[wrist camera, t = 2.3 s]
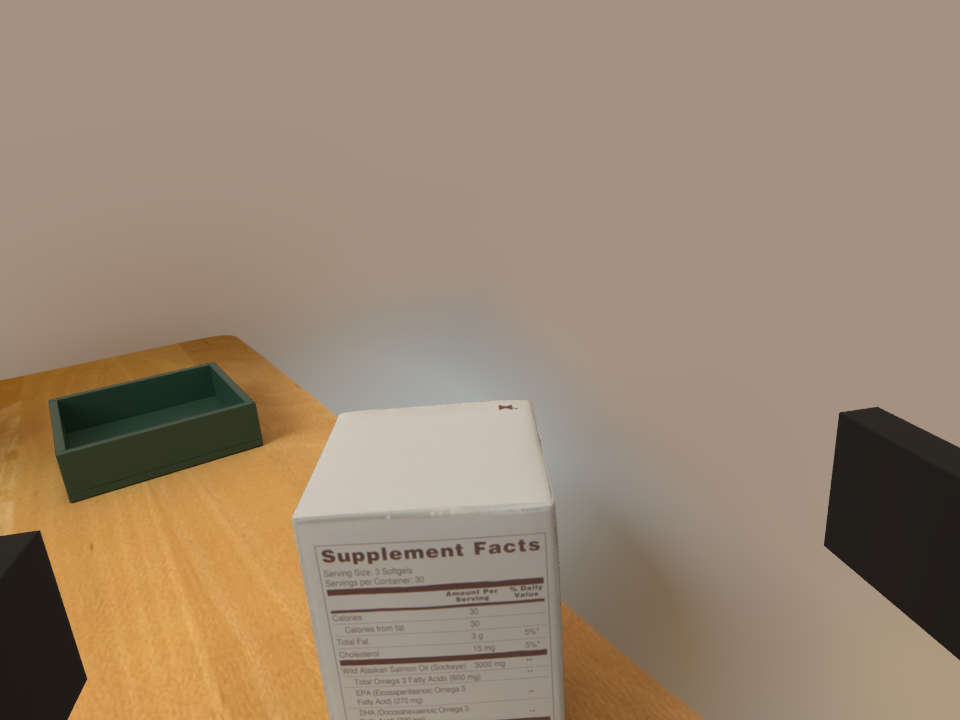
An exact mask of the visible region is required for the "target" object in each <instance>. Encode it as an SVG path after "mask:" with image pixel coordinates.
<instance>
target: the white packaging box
mask: <svg viewBox="0 0 960 720" xmlns="http://www.w3.org/2000/svg"><path fill="white" fill-rule="evenodd" d="M292 525H293V529H294V534H295V539H296V544H297V549H298V554H299V560H300V566H301V571H302V575H303V580H304V586H305V591H306V596H307V600H308V605H309V610H310V617H311V622H312V628H313V633H314V639H315V644H316V649H317V655H318V660H319V666H320V671H321V676H322V681H323V686H324V691H325V696H326V701H327V707H328V712H329V717H330V720H565V703H564V677H563V651H562V624H561V596H560V568H559V553H558V536H557V522H556V508H555V501H554V496H553V491H552V487H551V483H550V478H549V474H548V469H547V465H546V460H545V456H544V450H543V444H542V440H541V437H540V434H539V430H538V425H537V420H536V415H535V410H534V405H533V402H532V401H528V400H503V401H485V402H472V403H459V404H446V405H434V406H421V407H407V408H393V409H378V410H365V411H354V412H346V413H342V414H340V415H339V416H338V419H337V421H336V423H335V425H334V428H333V430H332V432H331V434H330V436H329V439H328V441H327V443H326V445H325V447H324V449H323V452H322V454H321V456H320V458H319V460H318V463H317V465H316V467H315V469H314V471H313V474H312V476H311V478H310V480H309V482H308V484H307V486H306V489H305V491H304V493H303V495H302V497H301V499H300V501H299V504H298V506H297V508H296V510H295V512H294V514H293V516H292Z"/></svg>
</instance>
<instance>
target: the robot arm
mask: <svg viewBox="0 0 960 720" xmlns="http://www.w3.org/2000/svg"><path fill="white" fill-rule="evenodd" d="M824 546H825V547H826V548H828V549H829V550H830V551H831V552H832V553H833V554H835V555H836V556H837V557H838V558H839V559H841V560H842V561H843V562H844V563H845V564H846V565H848V566H849V567H850V568H851V569H853V570H854V571H855V572H856V573H857V574H858V575H860V576H861V577H862V578H863V579H864V580H866V581H867V582H868V583H869V584H870V585H871V586H873V587H874V588H875V589H876V590H877V591H879V592H880V593H881V594H882V595H883V596H884V597H886V598H887V599H888V600H889V601H890V602H892V603H893V604H894V605H895V606H896V607H898V608H899V609H900V610H901V611H902V612H903V613H905V614H906V615H907V616H908V617H909V618H910V619H912V620H913V621H914V622H915V623H916V624H918V625H919V626H920V627H921V628H922V629H924V630H925V631H926V632H927V633H928V634H930V635H931V636H932V637H933V638H934V639H935V640H937V641H938V642H939V643H940V644H941V645H942V646H944V647H945V648H946V649H947V650H948V651H950V652H951V653H952V654H953V655H954V656H956V657H957V658H958V659H959V660H960V448H959V447H957V446H955V445H953V444H951V443H949V442H947V441H945V440H943V439H941V438H939V437H937V436H935V435H933V434H931V433H929V432H927V431H925V430H923V429H921V428H919V427H916V426H915V425H913V424H911V423H909V422H907V421H905V420H903V419H901V418H899V417H897V416H895V415H893V414H891V413H889V412H887V411H884V410H883V409H880V408H879V407H874V408H868V409H860V410H854V411H847V412H840V413H839V420H838V428H837V437H836V446H835V456H834V464H833V472H832V480H831V489H830V498H829V506H828V515H827V524H826V532H825V541H824ZM86 680H87V677H86V674H85V671H84V667H83V664H82V661H81V658H80V655H79V652H78V649H77V645H76V642H75V639H74V636H73V633H72V630H71V627H70V623H69V620H68V617H67V614H66V611H65V608H64V605H63V601H62V598H61V595H60V592H59V589H58V586H57V583H56V579H55V576H54V573H53V570H52V567H51V564H50V561H49V557H48V554H47V551H46V548H45V545H44V542H43V539H42V536H41V532H40V530H39V531H32V532H26V533H19V534H12V535H5V536H0V720H67V719H68V717H69V715H70V713H71V711H72V709H73V707H74V705H75V703H76V701H77V699H78V697H79V695H80V693H81V691H82V689H83V686H84V684H85V682H86Z"/></svg>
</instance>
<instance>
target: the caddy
mask: <svg viewBox="0 0 960 720" xmlns="http://www.w3.org/2000/svg"><path fill="white" fill-rule="evenodd" d="M49 408H50V416H51V423H52V430H53V438H54V445H55V453H56V458H57V461H58V465H59V468H60V471H61V474H62V478H63V481H64V484H65V487H66V491H67V494H68V497H69V500H70V502H71V503H72V502H75V501H79V500H82V499H85V498H89V497H92V496H95V495H98V494H102V493H105V492H108V491H112V490H115V489H118V488H122V487H125V486H128V485H132V484H135V483H138V482H142V481H145V480H148V479H152V478H155V477H158V476H161V475H165V474H168V473H171V472H175V471H178V470H181V469H185V468H188V467H191V466H195V465H198V464H201V463H205V462H208V461H211V460H214V459H218V458H221V457H224V456H228V455H231V454H234V453H238V452H241V451H244V450H248V449H251V448H254V447H258V446H261V445H263V440H262V435H261V430H260V425H259V419H258V414H257V409H256V404H255V402H254V401H253V400H252V399H251V398H250V397H249V396H248V395H247V394H246V393H245V392H244V391H243V390H242V389H241V388H240V387H239V386H238V385H237V384H236V383H235V382H234V381H233V380H232V379H231V378H230V377H229V376H228V375H227V374H226V373H225V372H224V371H223V370H222V369H221V368H220V367H219V366H218V365H217V364H216V363H215V362H212V363H207V364H203V365H199V366H194V367H190V368H186V369H181V370H177V371H173V372H168V373H164V374H159V375H155V376H151V377H146V378H142V379H138V380H133V381H129V382H125V383H120V384H116V385H112V386H107V387H103V388H99V389H94V390H90V391H86V392H81V393H77V394H73V395H68V396H64V397H60V398H55V399H51V400H49Z"/></svg>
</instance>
